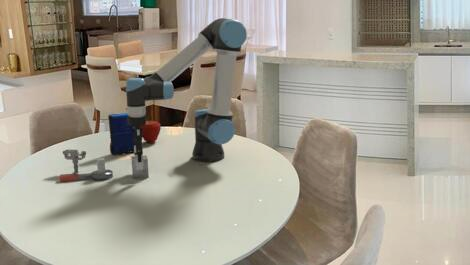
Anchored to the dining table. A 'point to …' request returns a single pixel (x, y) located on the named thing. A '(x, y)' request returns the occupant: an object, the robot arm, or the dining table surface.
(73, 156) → the mechanical component
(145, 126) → the apple
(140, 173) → the gray rectangular block
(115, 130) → the blue box
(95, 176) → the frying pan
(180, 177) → the dining table surface
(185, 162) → the dining table surface
